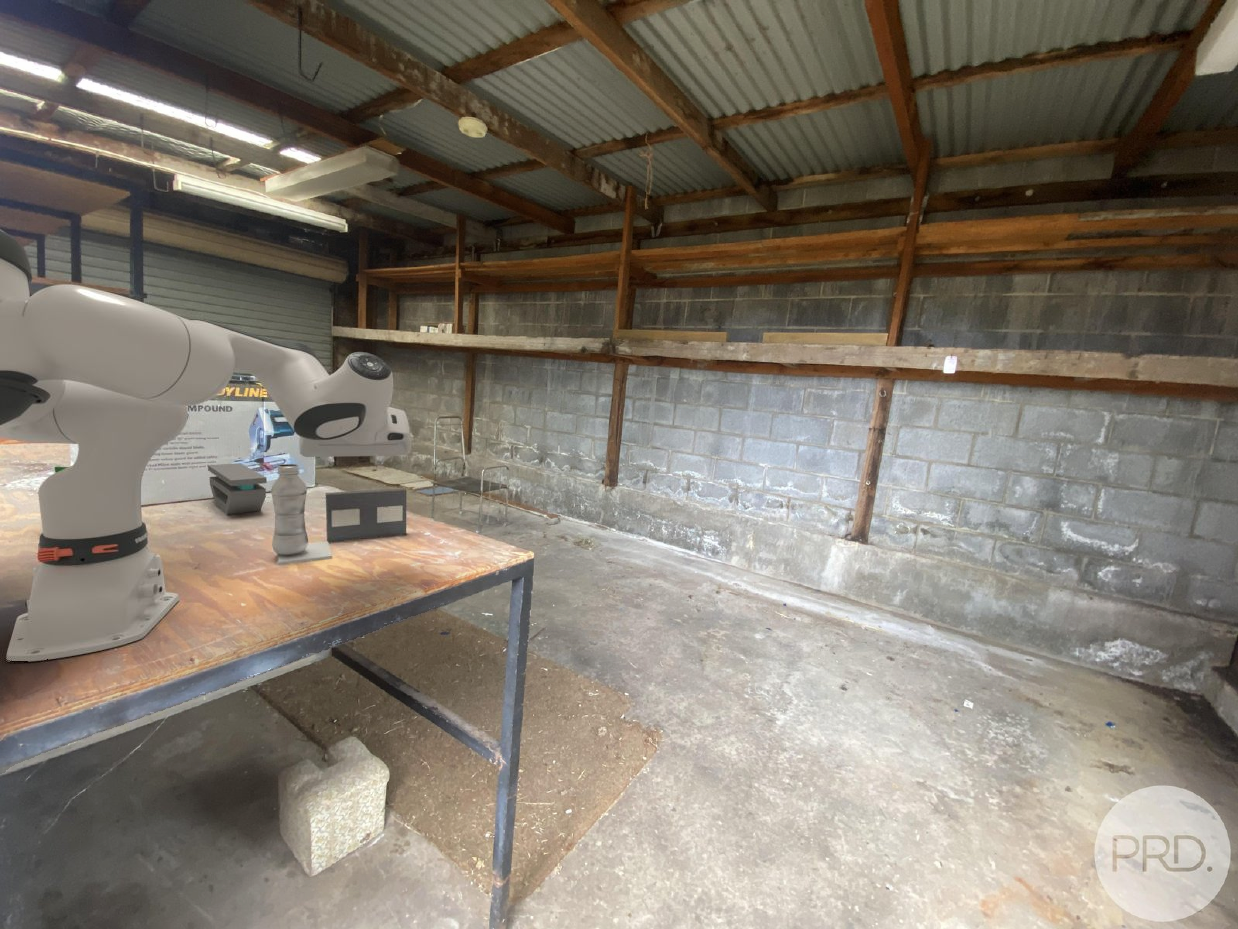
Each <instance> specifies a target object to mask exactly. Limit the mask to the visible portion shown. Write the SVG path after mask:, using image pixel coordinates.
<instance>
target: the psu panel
mask: <svg viewBox="0 0 1238 929" xmlns="http://www.w3.org/2000/svg"><path fill="white" fill-rule="evenodd" d="M325 518H326V519H325V521H326V522H325V523H326V525H325V526H326V541H328V544H329V543H338V542H349V541H357V540H358V541H359V540H367V539H376V538H377V539H378V538H386V537H395V536H406V535H407V489H406V488H391V489H390V488H389V489H371V490H354V491H353V490H352V491H339V492H338V491H337V492H336V491H335V492H334V491H333V492H325Z"/></svg>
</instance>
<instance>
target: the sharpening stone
mask: <svg viewBox="0 0 1238 929" xmlns="http://www.w3.org/2000/svg"><path fill="white" fill-rule="evenodd" d="M207 471H208V472H209V473H211V474H212V475H214V476H209V485H210V490H211V493H212V496H213V500H214V504H215V507H216V508H217V509H219V510H220V511H221V512H223V514H225V515H227V516H228V515H229V516H230V515H235V514H245V513H252V512H260V511H261V510H262V507H263V505H264V504H265V500H266V498H267V497H266V496H267V492H266V490H267V488H266V487H264V486H262V485H260V484H267V483H268V482H267V480H268V479H267V477H266V476H264V475H263V474H260V473H259V472H258V471H255V470H253V469H252V468H250V467H247V466H246V465H244V464H243V463H239V462H238V463H225V464H224V463H223V464H209V465H208V464H207Z"/></svg>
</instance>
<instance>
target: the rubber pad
mask: <svg viewBox="0 0 1238 929" xmlns="http://www.w3.org/2000/svg"><path fill="white" fill-rule="evenodd" d="M329 559H333V554H332V551H331V548H330V544H329V543H328V541H327V540H326V541H316V542H308V545H307V548H306V549H305V551H304V552H302V553H298V554H294V555H279V554H277V564H278V565H279V566H280V565H288V564H297V563H304V562H305V563H307V562H313V561H320V560H321V561H322V560H329Z"/></svg>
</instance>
